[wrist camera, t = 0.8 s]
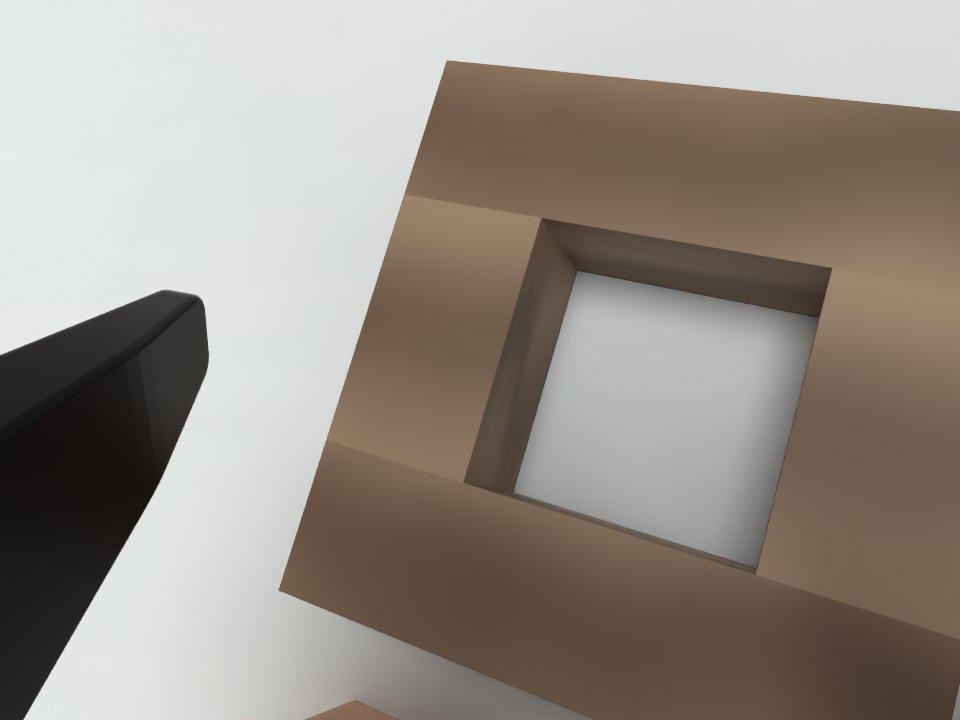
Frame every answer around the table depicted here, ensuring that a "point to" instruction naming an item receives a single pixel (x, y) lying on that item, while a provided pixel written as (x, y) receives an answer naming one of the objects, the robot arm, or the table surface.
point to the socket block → (687, 267)
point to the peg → (352, 713)
